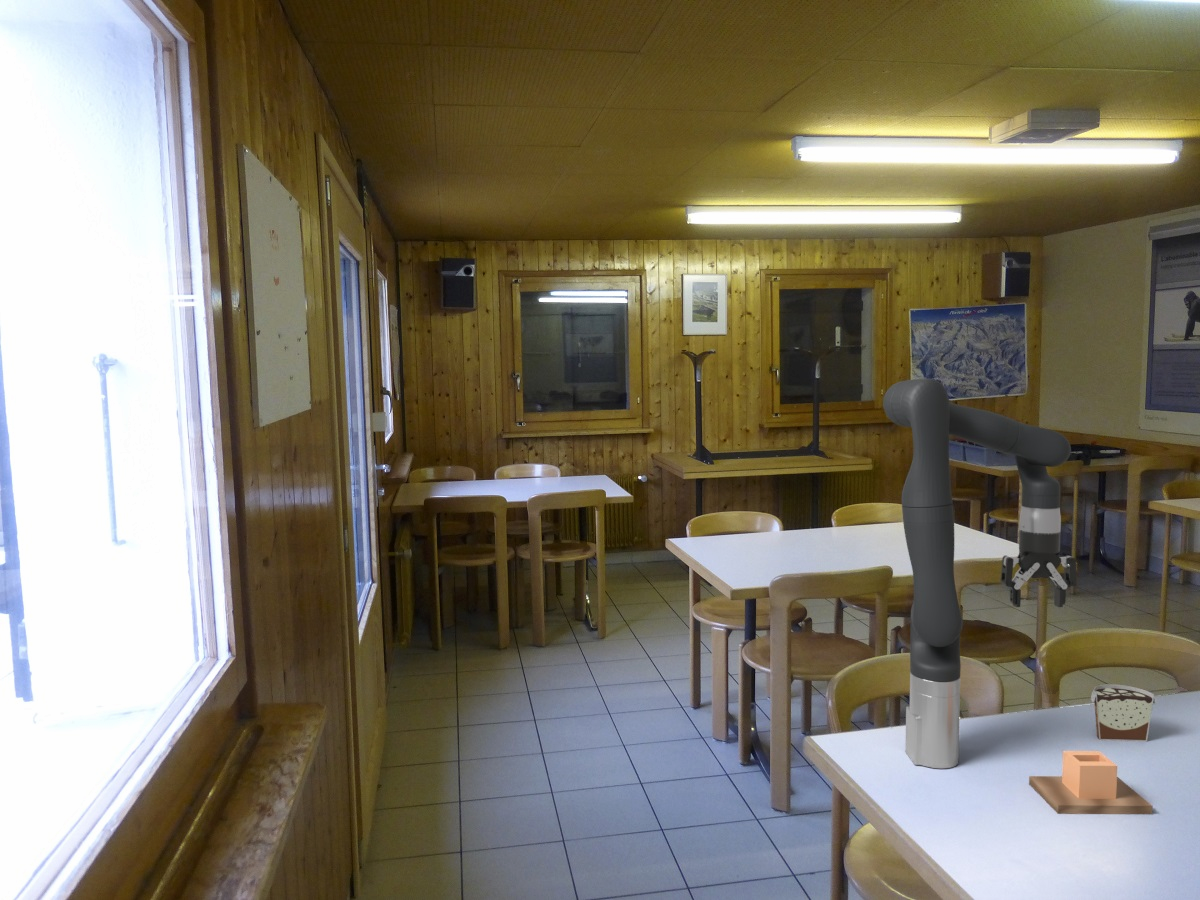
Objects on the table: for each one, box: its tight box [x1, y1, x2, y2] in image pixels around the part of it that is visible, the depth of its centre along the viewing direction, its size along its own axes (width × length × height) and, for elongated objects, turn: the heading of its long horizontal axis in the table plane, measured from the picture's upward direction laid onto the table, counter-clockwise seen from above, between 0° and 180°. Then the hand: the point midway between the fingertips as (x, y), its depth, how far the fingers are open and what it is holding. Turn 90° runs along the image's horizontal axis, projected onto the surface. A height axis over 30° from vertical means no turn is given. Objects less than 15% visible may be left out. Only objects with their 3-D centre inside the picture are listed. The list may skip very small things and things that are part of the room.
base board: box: [1028, 775, 1154, 815], centre depth 156 cm, size 16×11×6 cm
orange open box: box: [1061, 750, 1118, 799], centre depth 156 cm, size 6×6×6 cm
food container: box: [1090, 683, 1157, 743], centre depth 183 cm, size 12×6×10 cm, turn 84°
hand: (1037, 606), depth 180 cm, fingers open, 8 cm apart
